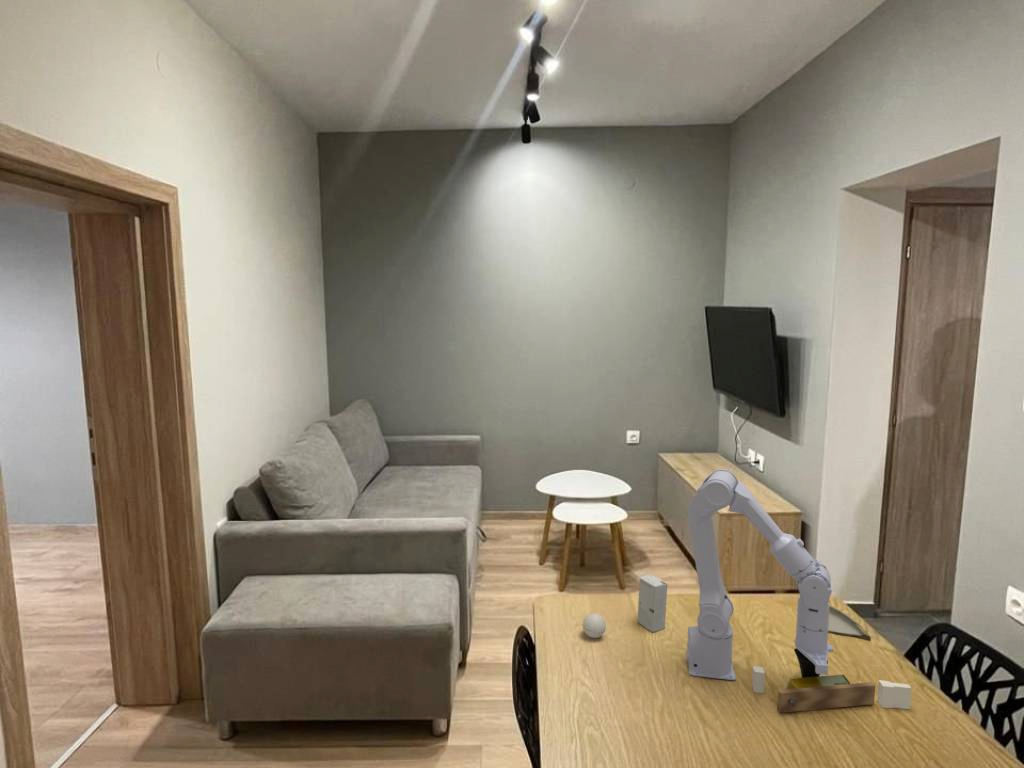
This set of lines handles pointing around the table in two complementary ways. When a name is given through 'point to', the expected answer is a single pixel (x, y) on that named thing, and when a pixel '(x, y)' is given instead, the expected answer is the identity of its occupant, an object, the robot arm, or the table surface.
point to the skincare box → (652, 602)
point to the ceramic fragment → (844, 624)
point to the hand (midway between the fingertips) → (809, 686)
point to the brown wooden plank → (825, 697)
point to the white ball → (594, 625)
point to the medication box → (817, 681)
